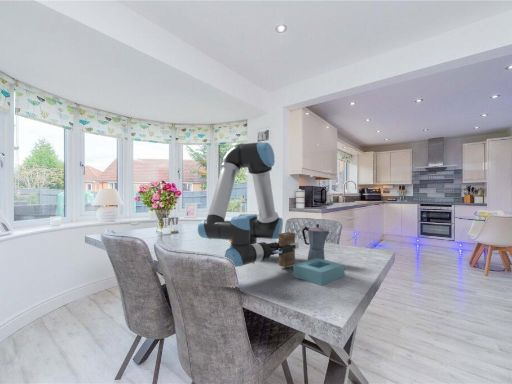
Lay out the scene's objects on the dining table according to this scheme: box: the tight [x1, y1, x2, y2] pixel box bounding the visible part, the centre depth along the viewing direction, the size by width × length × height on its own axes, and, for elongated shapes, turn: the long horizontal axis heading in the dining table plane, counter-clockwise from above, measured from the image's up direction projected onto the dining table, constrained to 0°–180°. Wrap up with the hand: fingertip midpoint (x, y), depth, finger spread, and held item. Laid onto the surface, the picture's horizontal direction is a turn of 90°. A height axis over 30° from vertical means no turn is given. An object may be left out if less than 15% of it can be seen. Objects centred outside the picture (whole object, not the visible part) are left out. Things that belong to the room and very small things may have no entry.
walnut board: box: [278, 231, 296, 268], centre depth 116 cm, size 4×7×15 cm, turn 131°
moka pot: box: [301, 223, 330, 261], centre depth 124 cm, size 10×15×20 cm, turn 53°
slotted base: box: [292, 258, 345, 286], centre depth 104 cm, size 14×17×5 cm
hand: (294, 244), depth 119 cm, fingers closed on walnut board, 4 cm apart
